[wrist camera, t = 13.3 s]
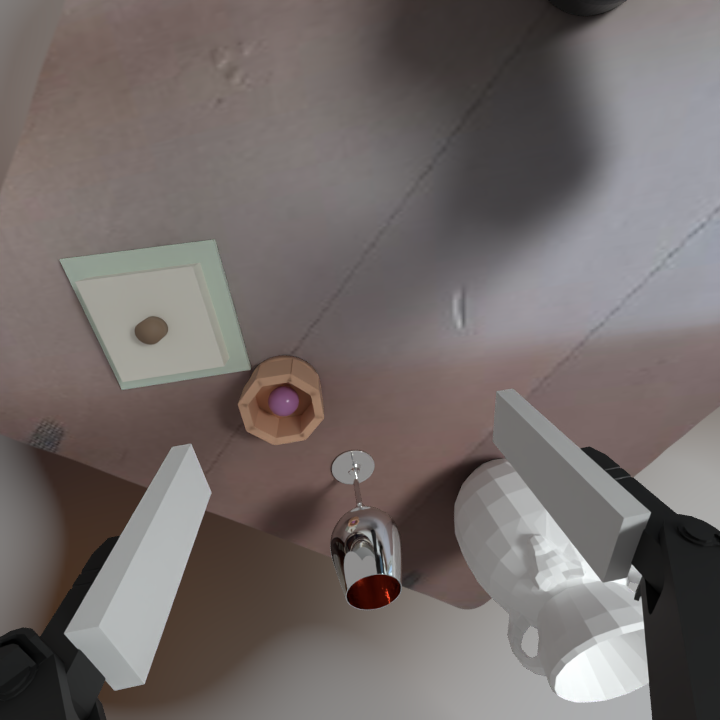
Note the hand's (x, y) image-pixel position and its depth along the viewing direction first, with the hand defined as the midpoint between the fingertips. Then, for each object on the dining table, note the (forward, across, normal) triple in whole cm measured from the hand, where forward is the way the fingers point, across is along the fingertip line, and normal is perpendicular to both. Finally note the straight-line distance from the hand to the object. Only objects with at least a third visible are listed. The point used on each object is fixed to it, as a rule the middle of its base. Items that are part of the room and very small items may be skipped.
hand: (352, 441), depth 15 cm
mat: (+27, -18, 0) cm, 32 cm away
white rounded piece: (+27, +22, -34) cm, 49 cm away
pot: (+27, -7, -11) cm, 30 cm away
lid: (+26, -18, 0) cm, 32 cm away
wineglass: (+27, 0, -26) cm, 37 cm away
